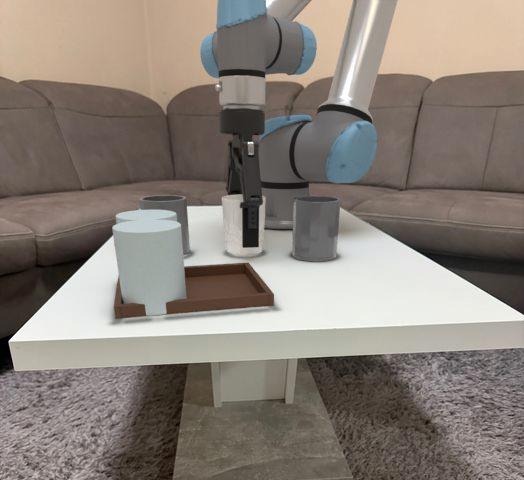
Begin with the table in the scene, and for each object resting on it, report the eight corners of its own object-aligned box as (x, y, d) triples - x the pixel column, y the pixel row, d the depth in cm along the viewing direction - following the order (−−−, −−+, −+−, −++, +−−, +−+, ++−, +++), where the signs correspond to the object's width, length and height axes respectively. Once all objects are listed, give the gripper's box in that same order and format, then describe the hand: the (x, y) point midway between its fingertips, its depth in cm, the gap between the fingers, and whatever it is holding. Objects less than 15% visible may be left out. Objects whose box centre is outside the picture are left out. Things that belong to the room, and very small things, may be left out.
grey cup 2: (326, 249, 88) (330, 195, 83) (343, 260, 81) (347, 201, 76) (287, 251, 86) (288, 196, 82) (300, 262, 79) (302, 203, 75)
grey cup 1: (187, 248, 88) (184, 194, 84) (192, 258, 81) (188, 200, 77) (145, 250, 87) (139, 195, 82) (146, 261, 80) (139, 202, 75)
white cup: (260, 259, 81) (260, 200, 77) (218, 257, 82) (215, 199, 78) (269, 249, 88) (269, 194, 84) (229, 247, 89) (228, 193, 85)
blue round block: (179, 275, 70) (174, 208, 66) (184, 292, 63) (178, 218, 59) (126, 279, 68) (116, 210, 64) (124, 296, 61) (113, 220, 57)
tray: (248, 275, 72) (248, 262, 71) (274, 309, 59) (274, 293, 58) (121, 284, 68) (119, 270, 67) (116, 323, 55) (113, 306, 54)
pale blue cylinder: (184, 292, 63) (178, 218, 59) (189, 312, 56) (183, 230, 52) (124, 296, 61) (113, 220, 57) (122, 318, 54) (110, 233, 50)
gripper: (209, 111, 85) (213, 227, 94) (233, 103, 63) (234, 255, 72) (248, 112, 87) (248, 226, 96) (285, 105, 65) (280, 253, 74)
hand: (242, 239), depth 84 cm, fingers open, 13 cm apart
